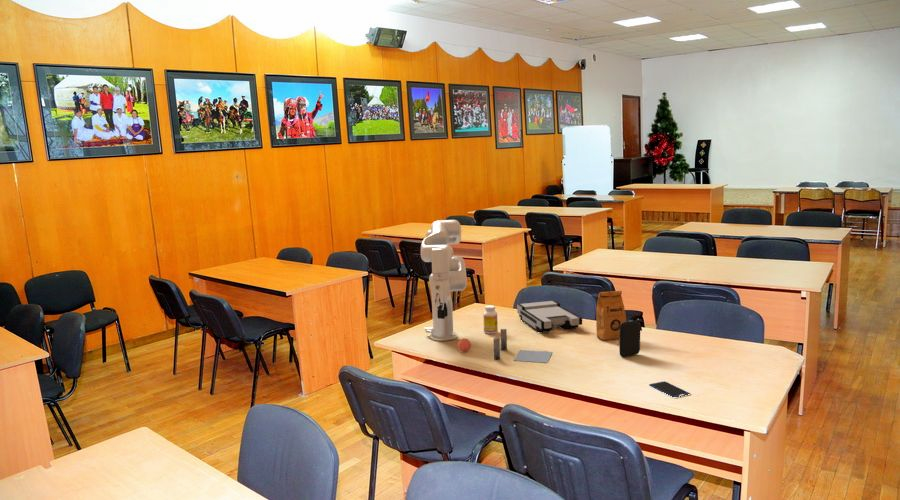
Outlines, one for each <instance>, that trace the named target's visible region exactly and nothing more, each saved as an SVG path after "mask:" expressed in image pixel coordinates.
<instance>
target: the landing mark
mask: <svg viewBox="0 0 900 500" xmlns="http://www.w3.org/2000/svg"><path fill="white" fill-rule="evenodd" d="M552 354H553V351H543V350H542V351H541V350H527V349H519V350H518V353H516V356H515V357H514V358H513V362H525V363H528V362H529V363H540V364H541V363H542V364H549V363H548V362H549V361H550V358H551V356H552Z"/></svg>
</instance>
